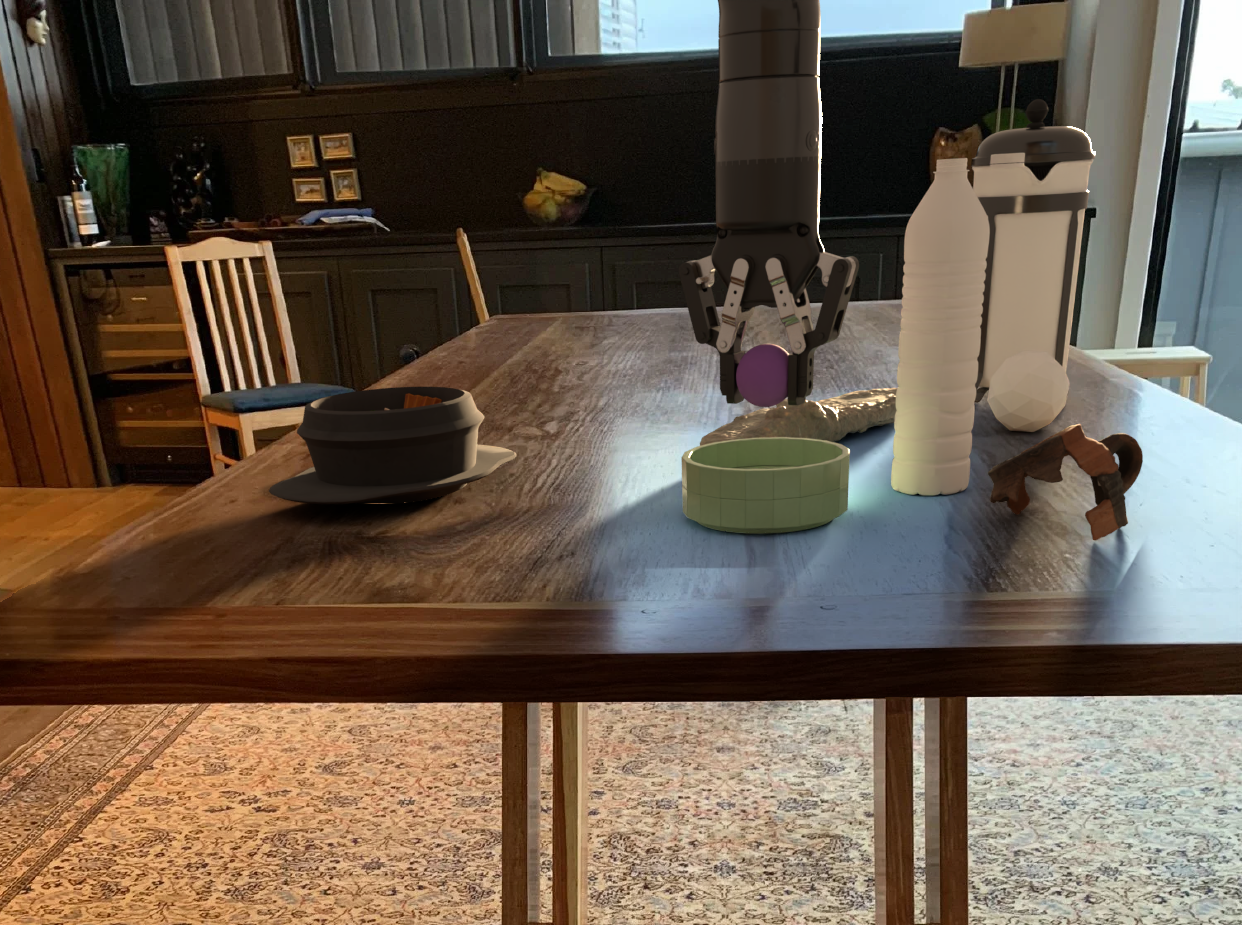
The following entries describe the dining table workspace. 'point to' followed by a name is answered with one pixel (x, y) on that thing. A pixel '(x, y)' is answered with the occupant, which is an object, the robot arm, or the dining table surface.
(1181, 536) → the dining table surface
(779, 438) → the bowl
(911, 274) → the water bottle
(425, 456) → the grey pot on saucer
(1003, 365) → the geometric ball
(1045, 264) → the coffee press
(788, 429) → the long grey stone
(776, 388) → the ball
